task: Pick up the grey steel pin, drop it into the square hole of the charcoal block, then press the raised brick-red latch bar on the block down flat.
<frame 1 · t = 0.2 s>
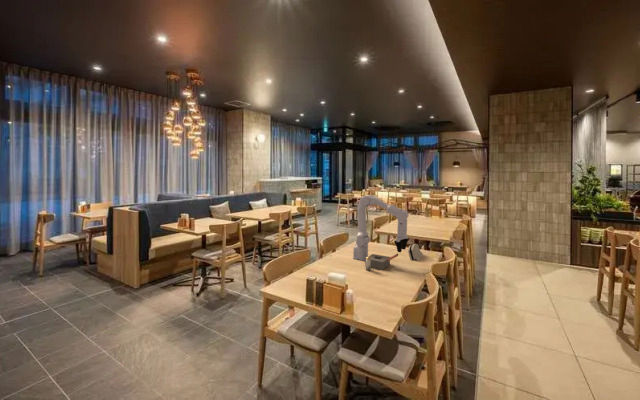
hand: (401, 250, 195), 10 cm above the table, tool pointing down, fingers open, 7 cm apart
hinge: (414, 257, 214), on the table
pin: (368, 270, 189), on the table
latch bar: (392, 257, 191), point 7 cm above the table, hinge at 35.0°
pin block: (377, 265, 197), on the table
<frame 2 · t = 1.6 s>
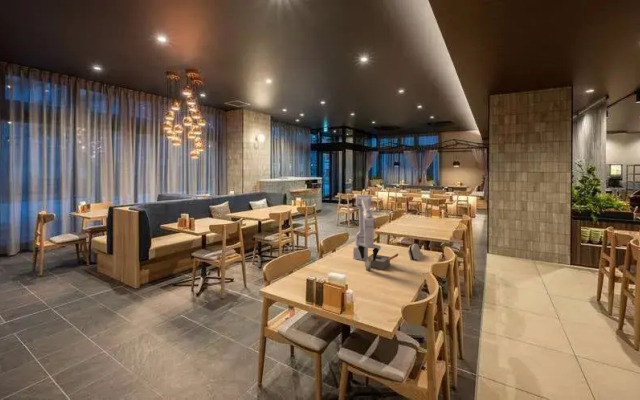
hand: (368, 259, 188), 7 cm above the table, tool pointing down, fingers open, 7 cm apart
nothing on the table moved.
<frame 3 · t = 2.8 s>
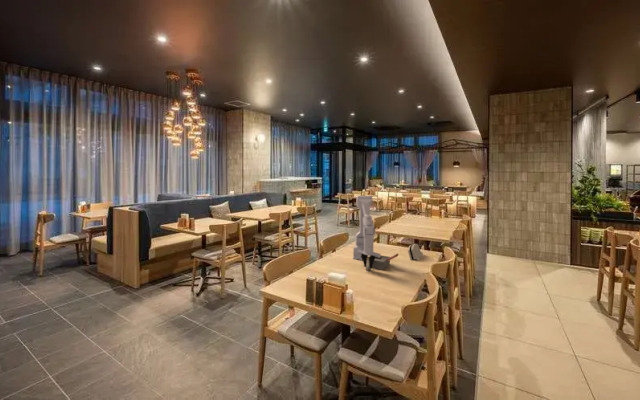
hand: (368, 266, 188), 2 cm above the table, tool pointing down, fingers closed on pin, 3 cm apart
pin: (368, 270, 189), on the table, touching gripper
everything else where it was.
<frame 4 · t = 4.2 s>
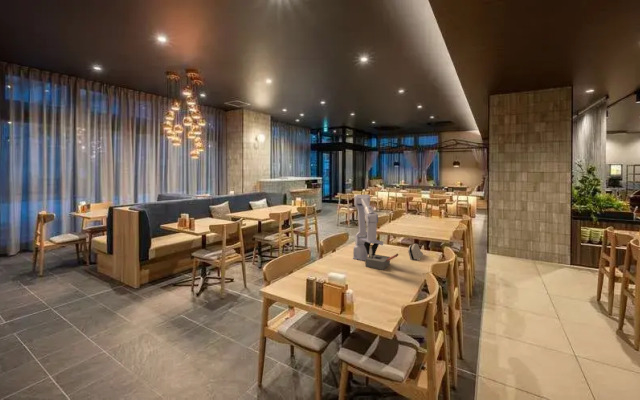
hand: (371, 254, 190), 9 cm above the table, tool pointing down, fingers closed on pin, 3 cm apart
pin: (371, 257, 190), point 7 cm above the table, touching gripper
everything else where it was.
when the fingers open (6 cm above the table, at t = 5.6 s): pin drops 3 cm, resting on pin block.
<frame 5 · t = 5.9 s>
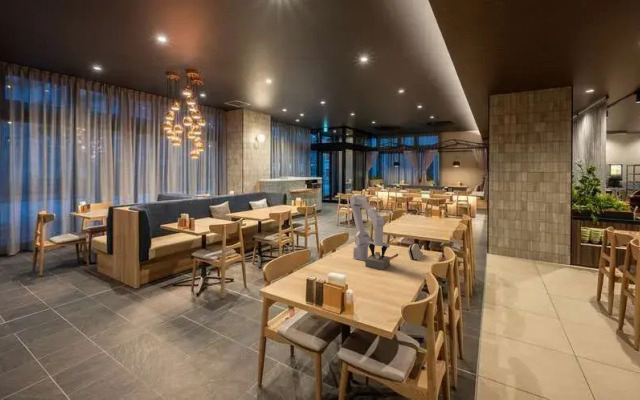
hand: (377, 256, 196), 6 cm above the table, tool pointing down, fingers open, 6 cm apart
pin: (377, 264, 197), point 1 cm above the table, tilted 7°, touching pin block
everything else where it was.
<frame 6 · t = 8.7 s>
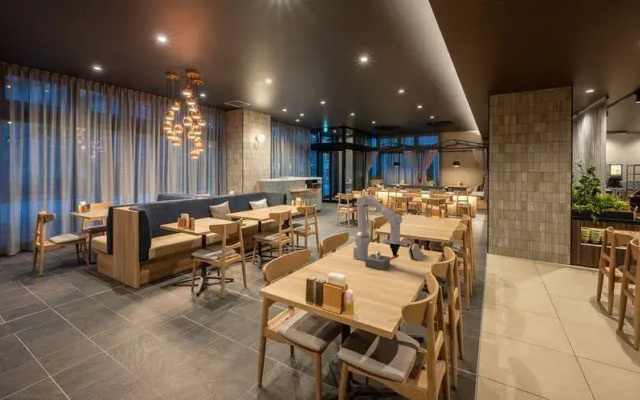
hand: (394, 255, 190), 8 cm above the table, tool pointing down, fingers closed
pin: (377, 264, 197), point 1 cm above the table, touching pin block
latch bar: (392, 257, 191), point 7 cm above the table, hinge at 30.4°, touching gripper
everything else where it was.
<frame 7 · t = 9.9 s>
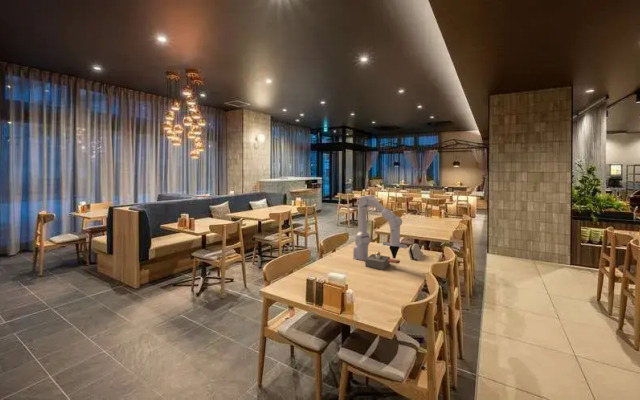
hand: (394, 257, 191), 7 cm above the table, tool pointing down, fingers closed
latch bar: (393, 261, 191), point 5 cm above the table, hinge at 0.6°
everything else where it was.
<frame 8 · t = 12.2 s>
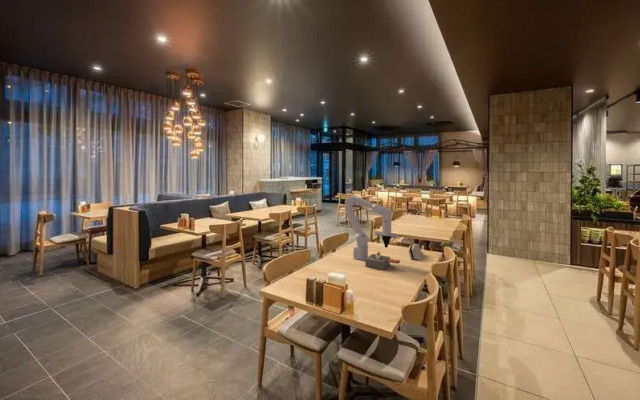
hand: (386, 247, 203), 10 cm above the table, tool pointing down, fingers closed
nothing on the table moved.
at the end: pin 0.1 cm off-centre on the pin block, point 0.5 cm above the pin block's base; pin tilted 0°; latch bar at +0° (first picture: +35°) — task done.
